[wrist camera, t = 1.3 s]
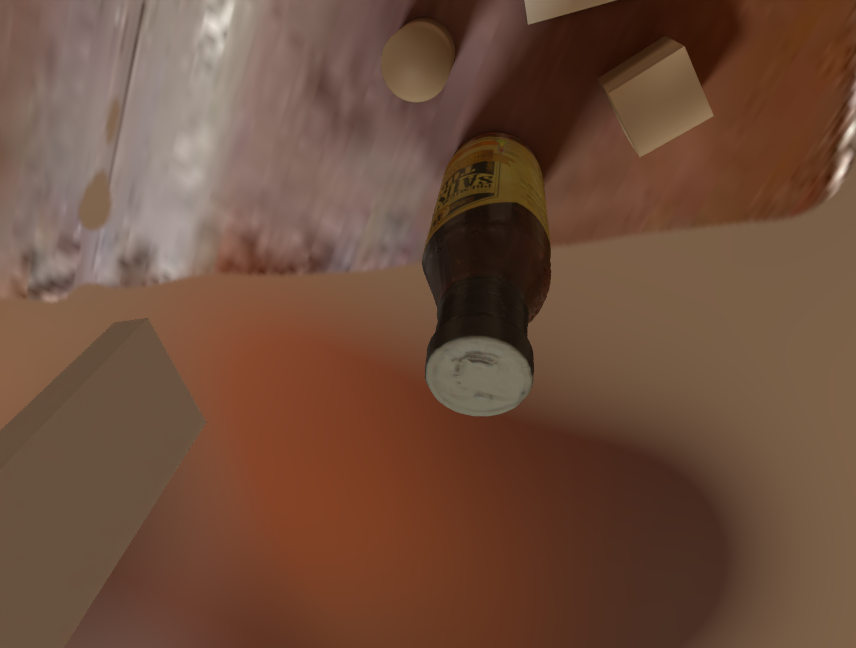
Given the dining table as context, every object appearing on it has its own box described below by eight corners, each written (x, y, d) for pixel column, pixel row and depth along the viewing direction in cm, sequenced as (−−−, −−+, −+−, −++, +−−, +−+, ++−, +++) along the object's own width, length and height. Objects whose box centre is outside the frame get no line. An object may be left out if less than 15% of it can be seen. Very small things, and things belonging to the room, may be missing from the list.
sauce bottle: (483, 106, 34) (470, 259, 18) (562, 166, 36) (615, 358, 19) (423, 189, 37) (365, 382, 21) (497, 241, 39) (496, 458, 23)
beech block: (597, 78, 33) (608, 93, 29) (664, 34, 31) (684, 45, 28) (626, 136, 34) (640, 157, 31) (691, 98, 33) (713, 115, 29)
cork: (386, 26, 32) (372, 37, 28) (447, 9, 31) (440, 17, 28) (403, 91, 34) (392, 109, 30) (461, 76, 33) (456, 92, 30)
